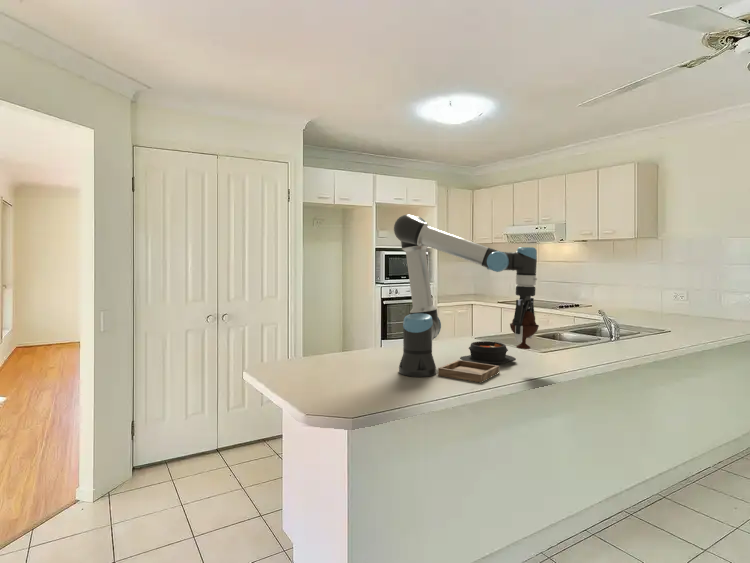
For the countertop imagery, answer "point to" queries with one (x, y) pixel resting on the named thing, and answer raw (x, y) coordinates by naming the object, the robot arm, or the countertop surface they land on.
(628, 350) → the countertop surface
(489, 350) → the casserole
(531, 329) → the ice cream bowl
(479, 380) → the walnut tray
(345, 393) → the countertop surface
